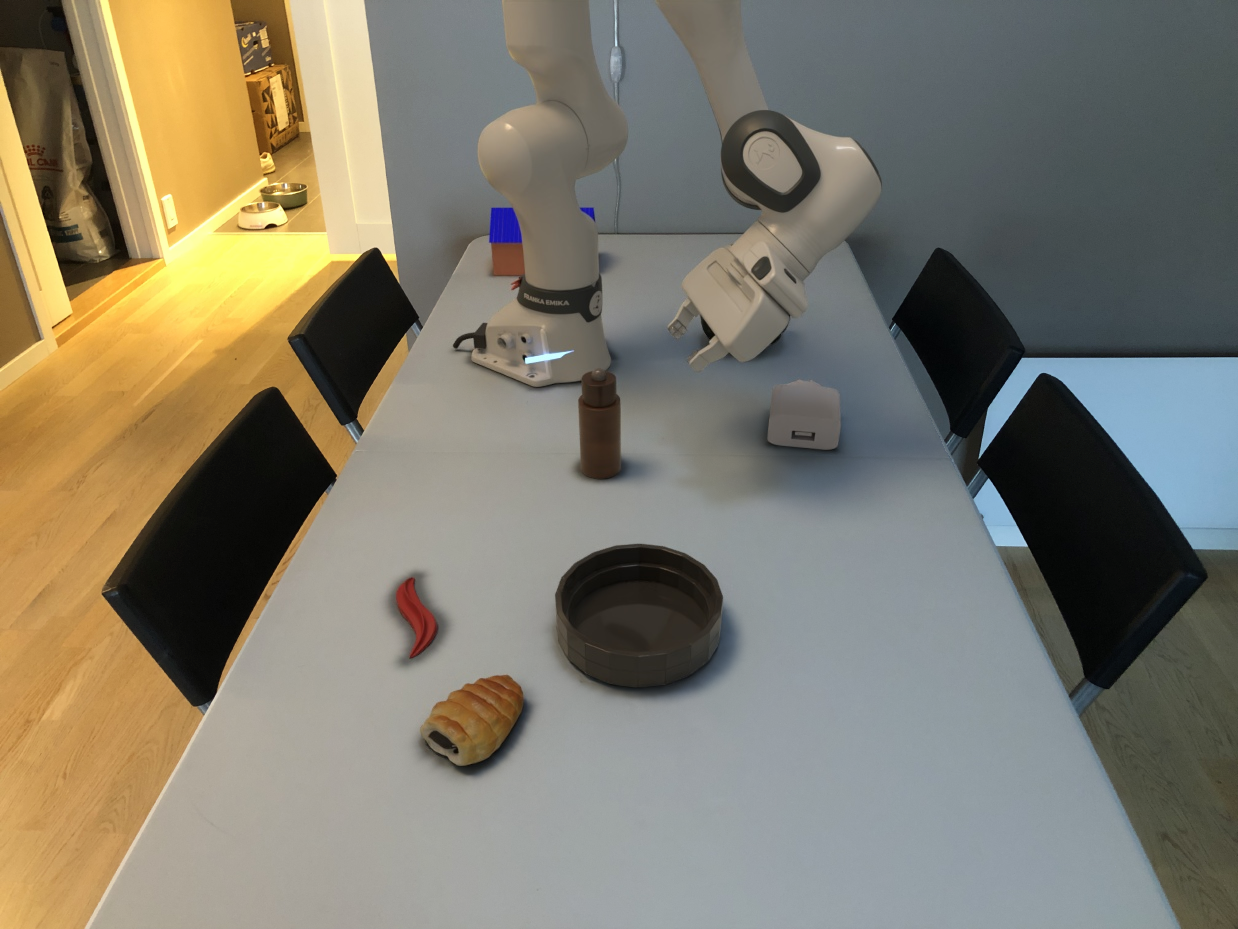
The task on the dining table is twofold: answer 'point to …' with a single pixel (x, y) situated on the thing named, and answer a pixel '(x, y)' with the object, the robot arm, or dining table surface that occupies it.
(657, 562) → the pan
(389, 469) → the dining table surface
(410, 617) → the cayenne pepper
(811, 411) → the charger
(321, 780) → the dining table surface
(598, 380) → the pepper mill
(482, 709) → the pastry
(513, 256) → the house
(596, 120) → the robot arm
